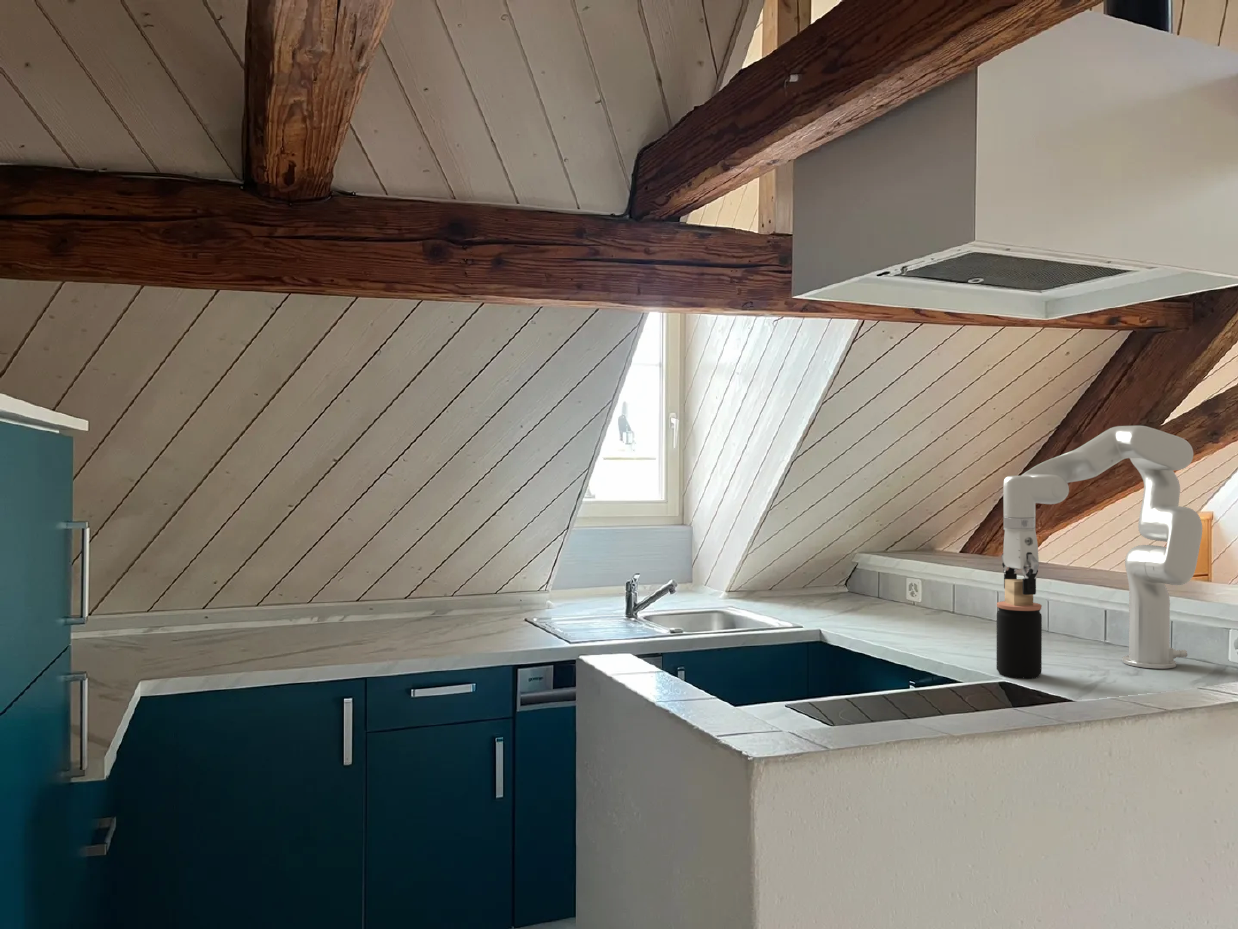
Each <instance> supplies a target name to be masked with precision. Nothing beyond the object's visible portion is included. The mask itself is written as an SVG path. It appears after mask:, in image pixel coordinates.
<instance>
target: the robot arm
mask: <svg viewBox="0 0 1238 929" xmlns="http://www.w3.org/2000/svg"><path fill="white" fill-rule="evenodd" d="M1126 459H1129V460H1130V462H1131V463H1132V465H1133V466H1134V468H1135V469H1137V471H1138V473H1139V474H1140V477H1141V479H1142V481H1143V494H1142V501H1141V507H1140V511H1139V518H1138V523H1137V524H1138V526H1137V527H1138V532H1139V534H1140V536H1141V537H1143V538H1145V539H1147V540H1150V541H1155V542H1165V543H1166V546H1162V545H1153V544H1152V545H1151V544H1140V545H1136V546H1134V547H1131V549H1130V550H1128V552H1127V553H1126V556H1125V559H1124V568H1125V572H1126V577H1127V582H1128V592H1129V593H1128V596H1129V598H1128V603H1129V604H1128V605H1129V606H1128V607H1129V608H1128V649H1129V650H1128V655H1125V656H1123V657H1122V660H1121V661H1122V663H1124V664H1126V665H1129V666H1133V667H1139V668H1146V669H1154V670H1155V669H1163V670H1164V669H1173V668H1176V666H1177V662H1176V660H1174V659H1176V658H1187V657H1188V652H1187V650H1186V649H1176V648H1173V647H1170V639H1171V638H1170V627H1171V626H1170V623H1171V622H1170V618H1171V615H1170V608H1171V603H1170V601H1171V600H1170V598H1171V597H1170V594H1169V590H1168V588H1167V587H1166V585H1169V586H1170V585H1172V586H1183V585H1186V584H1187V583H1189V582H1190V581H1191V580H1192V578H1193V577H1194V575H1195V571H1196V569H1197V564H1198V558H1199V552H1200V546H1201V542H1202V535H1203V523H1202V519H1201V517H1200V515H1199V513H1198V512H1196V510H1194V509H1192V508H1191V507H1186V506H1179V505H1180V504H1179V503H1180V496H1181V485H1180V481H1179V479H1178V478H1179V477H1178V476H1177V474H1176V473H1175V472H1174V471H1181V470H1184V469H1186V468H1188V466H1189V465H1191V463H1192V461H1193V459H1194V450H1193V447H1192V445H1191V443H1190V442H1189V441H1187V440H1186V439H1185V438H1183V437H1181V436H1178V435H1174V434H1172V433H1168V432H1165V431H1163V430H1159V429H1156V428H1153V427H1150V426H1146V425H1117V426H1113V427H1110V428H1108V429H1106V430H1105V431H1103V432H1101V433H1100V434H1099V435H1097V436H1095V437H1094V438H1093V437H1092V439H1091V440H1089V441H1087V442H1086V443H1084V444H1082V445H1081V446H1079V447H1077V448H1075V449H1073V450H1070V451H1068V452H1065V453H1062V454H1061V455H1057V456H1055V457H1052V458H1050V459H1047V460H1045V461H1043V462H1041V463H1038V464H1036V465H1035V466H1033V467H1031V468H1030V469H1029V470H1027V471H1025V472H1024V473H1022V474H1021V475H1008V476H1006V477H1005V478H1004V480H1003V489H1002V490H1003V495H1002V496H1003V497H1002V498H1003V499H1002V500H1003V531H1004V533H1003V534H1004V535H1003V546H1002V548H1003V549H1002V554H1001V562H1002V565H1001V566H1002V568H1003V570H1002V573H1003V588H1004V590H1005V579H1018V577H1017V575H1018V573H1016V571H1017V570H1018V571H1021V573H1022V575H1023V578H1022V579H1023V594H1024V595H1033V596H1034V595H1036V594H1037V578H1038V573H1039V567H1040V562H1039V561H1040V560H1039V546H1038V537H1037V533H1036V504H1042V505H1044V504H1045V505H1055V504H1060V503H1061V502H1063V501H1065V499H1066V498H1067V497H1068V495H1069V493H1070V486H1069V483H1074V482H1080V481H1081V482H1082V481H1085V480H1089V479H1093V478H1096V477H1097V476H1099V475H1100V474H1103V472H1105V471H1107V470H1108V469H1110V468H1111V467H1113V466H1114V465H1116V464H1118V463H1120V462H1121V461H1123V460H1126Z"/></svg>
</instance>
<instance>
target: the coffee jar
mask: <svg viewBox="0 0 1238 929" xmlns="http://www.w3.org/2000/svg"><path fill="white" fill-rule="evenodd" d="M1042 606H1043V605H1042V604H1040V603H1036V602H1033V605H1022V606H1014V605H1011V604H1008V603H1005V600H1003V601H997V602H996V607H997V608H998V610H997V612H996V670H997V672H998V674H999V675H1000V676H1003V677H1006V678H1012V679H1020V680H1025V679H1026V680H1029V679H1030V680H1032V678H1033V679H1037V678H1039V677H1040V675H1041V673H1042V671H1043V670H1042V663H1043V662H1042V656H1043V655H1042V653H1043V652H1042V646H1043V645H1042V644H1043V642H1042V641H1043V640H1042V639H1043V638H1042V637H1043V636H1042V635H1043V634H1042V633H1043V631H1042V628H1043V627H1042V626H1043V625H1042V623H1043V622H1042V621H1043V619H1042V618H1043V615H1042V613H1041V610H1042ZM1038 676H1039V677H1038ZM1036 677H1037V678H1036Z"/></svg>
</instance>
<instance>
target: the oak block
mask: <svg viewBox="0 0 1238 929" xmlns="http://www.w3.org/2000/svg"><path fill="white" fill-rule="evenodd" d="M1004 601H1005V603H1008V604H1011V605H1014V606H1022V605H1033V603H1034V595H1024V594H1023V578H1017V579H1005V589H1004Z"/></svg>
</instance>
